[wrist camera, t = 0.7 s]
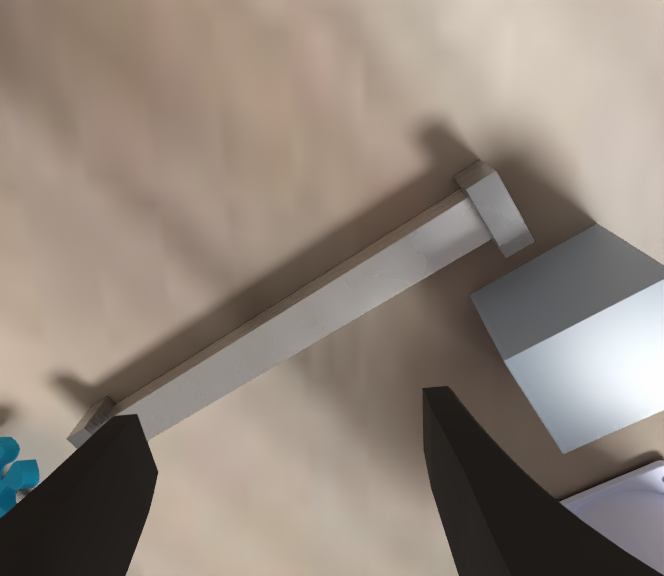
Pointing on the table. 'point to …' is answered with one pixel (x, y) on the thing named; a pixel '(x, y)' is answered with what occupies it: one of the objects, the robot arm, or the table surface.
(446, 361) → the table surface
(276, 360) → the rail
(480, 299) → the block
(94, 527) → the robot arm
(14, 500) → the gear
